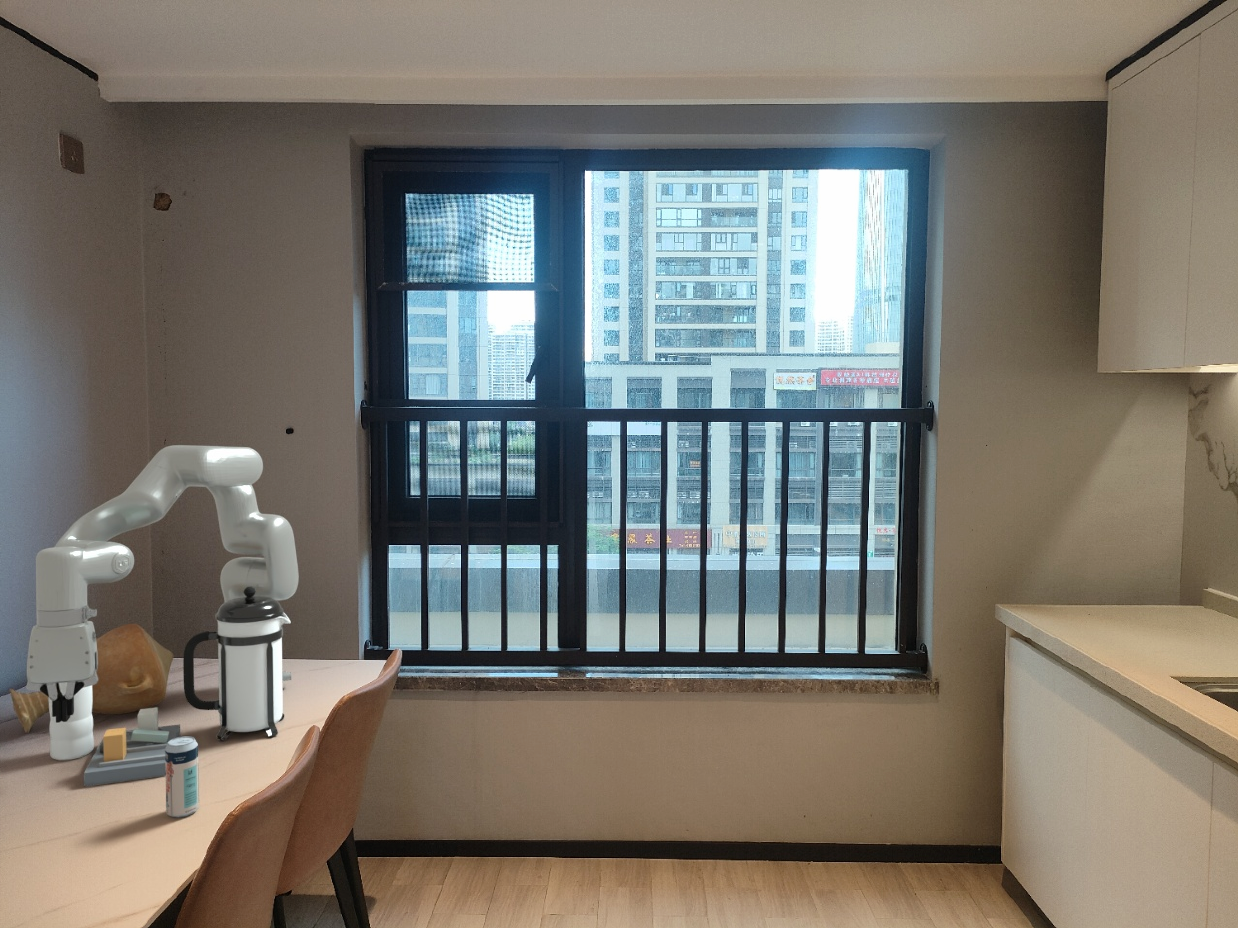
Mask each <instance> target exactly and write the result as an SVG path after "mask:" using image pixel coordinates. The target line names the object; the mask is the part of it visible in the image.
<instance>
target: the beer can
mask: <svg viewBox="0 0 1238 928" xmlns="http://www.w3.org/2000/svg"><path fill="white" fill-rule="evenodd" d="M165 772H166V776H165V809H166V810H165V812H166V815H168V816H170V817H172V818H185V817H188V816H190V815H193V814H194V813H195V812H196V811H197V810H198V809H199V808H200V786H199V784H200V783H199V782H200V781H199V780H200V779H199V778H200V777H199V743H198V742H197V740H196V739H195V737H194V736H188V735H187V736H180V737H178V738H175V739H172V740H170V741H169V742H168V744H167V746H166V748H165Z"/></svg>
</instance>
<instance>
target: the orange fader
mask: <svg viewBox="0 0 1238 928" xmlns="http://www.w3.org/2000/svg"><path fill="white" fill-rule="evenodd" d="M126 730H127V727H119V728H112V729H111V728H109V729H106V730H105V733H104V735H103V737H102V739H103V745H104V762H108V761H116V760H124V758H125V756H126V754H127V751H126Z"/></svg>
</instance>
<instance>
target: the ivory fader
mask: <svg viewBox="0 0 1238 928" xmlns="http://www.w3.org/2000/svg"><path fill="white" fill-rule="evenodd" d="M158 727H159V707H157V706H156V707H148V708H146V709H140V711H138V714H137V729H141V730H156V731H158Z"/></svg>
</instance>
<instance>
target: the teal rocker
mask: <svg viewBox="0 0 1238 928" xmlns="http://www.w3.org/2000/svg"><path fill="white" fill-rule="evenodd" d="M133 730H134V731H133V733H132V737H131V741H146V742H162V743H166V742H167V740H168V735H169V731H156V730H141V729H138V728H134V729H133Z"/></svg>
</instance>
